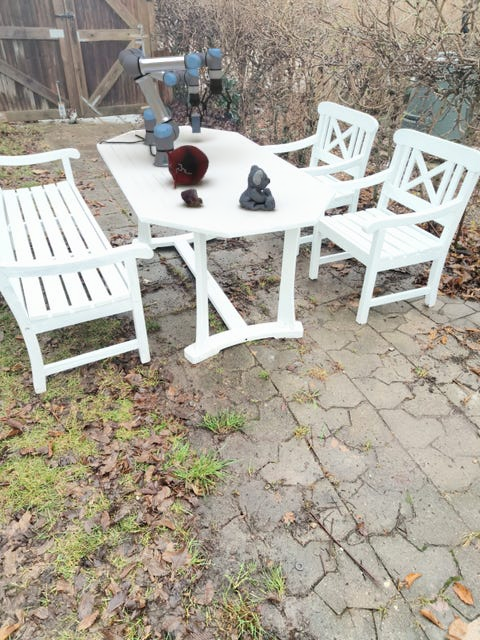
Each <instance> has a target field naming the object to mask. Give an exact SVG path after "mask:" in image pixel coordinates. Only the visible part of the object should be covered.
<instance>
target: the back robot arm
mask: <svg viewBox="0 0 480 640" xmlns="http://www.w3.org/2000/svg"><path fill="white" fill-rule="evenodd" d="M135 53H139V54H142V55H144V56H145V57H146V55H145V53H144V52H143V51H142V50H141V49H139V48H135V47H133V48H132V47H131V48H126V49H123V50H121V51H120V52H119V54H118V61H119V64H120V65H121V66H122V67H123V60H124V58H125V57H126V56H128V55H132V54H135ZM151 73H152V74H151V78H153V79H156V80H158V81H160V82H162V83H164V84H165V85H167V86H169V87H173V86H175V85H179V84H187V85H188V95H189V98H188V99H189V100H188V101H185V107H186V109H185V110H186V111H185V112H186V113H185V115H186V117H187V118H188V122H189V123H190V128H192V119H191V114H193V109H194V108H197V111H198V114H200V127H201V128H202V123H203V122H204V117H206V111H205V110H204V105H203V104H201V96H200V76H199V75H200V74H199V68H198V69H196V70H177V71H164V72H151ZM204 101H205V100H203V102H204ZM162 103H163V105H164V107H165V109H166V111H167V113H168V115H169V116H170V117H172V112H171V110H170V109H169V107H167V106H166V105H165V103H164V102H162ZM189 105H190V109H189ZM200 105H201V108H202V111H201V108H200ZM143 122H144V130H145V131H144V132H145V134H144V138H145V140H144V139H141V140H135V141H106V140H102V141H100V142H99V145H101V144H103V143H105V144H136V143H137V144H138V143H142V142H144V143H143V144H144V145H145V146H150V145H151V146H156V145H155V136H154V127H155V126H156V123H157V121H156V119H155V117H154V114H153V112H152V110H151V108H150V107H149V108H147V109H145V110H144V111H143ZM149 144H150V145H149Z"/></svg>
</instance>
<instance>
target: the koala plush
mask: <svg viewBox="0 0 480 640" xmlns="http://www.w3.org/2000/svg"><path fill="white" fill-rule="evenodd" d="M270 183H271V178H269V176H268V175H267V173H266V172H265V170H264V169H263V168H261V167H259V165H257V164H253V165H250V170H249V173H248V176H247V188H246V189H245V190H244V191H243V192H242V193H241V194H240V197H239V199H238V203H239V204H240V206H241V207H242V208H246V209H247V210H252V211H255V210H261V211H272V210H274V209H275V208H276V200H275V198H274V196H273V194H272V191H271V188H270V187H268V186H269V185H270Z"/></svg>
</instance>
